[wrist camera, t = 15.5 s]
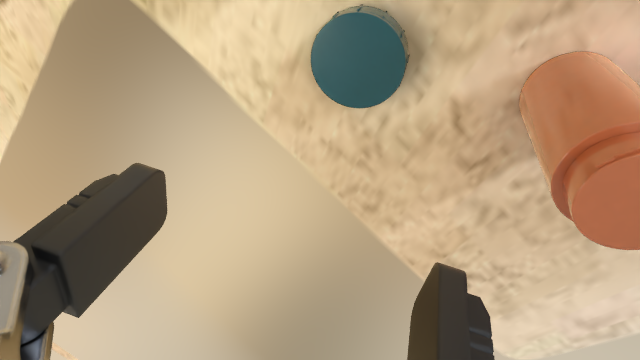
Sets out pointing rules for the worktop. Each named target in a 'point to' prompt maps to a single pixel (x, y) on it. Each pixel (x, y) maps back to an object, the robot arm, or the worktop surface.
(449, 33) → the worktop surface
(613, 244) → the jam jar
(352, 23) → the jar lid
